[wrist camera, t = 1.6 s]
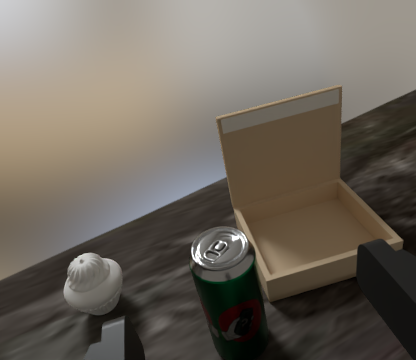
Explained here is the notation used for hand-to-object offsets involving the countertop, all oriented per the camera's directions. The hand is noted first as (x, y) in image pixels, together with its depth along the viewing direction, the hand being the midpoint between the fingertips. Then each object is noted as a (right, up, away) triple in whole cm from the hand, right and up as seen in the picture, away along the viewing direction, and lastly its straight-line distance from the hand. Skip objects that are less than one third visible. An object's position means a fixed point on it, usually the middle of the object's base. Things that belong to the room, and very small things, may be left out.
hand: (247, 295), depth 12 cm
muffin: (-13, -10, +27) cm, 31 cm away
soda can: (+2, -11, +20) cm, 23 cm away
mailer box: (+10, -3, +28) cm, 30 cm away
